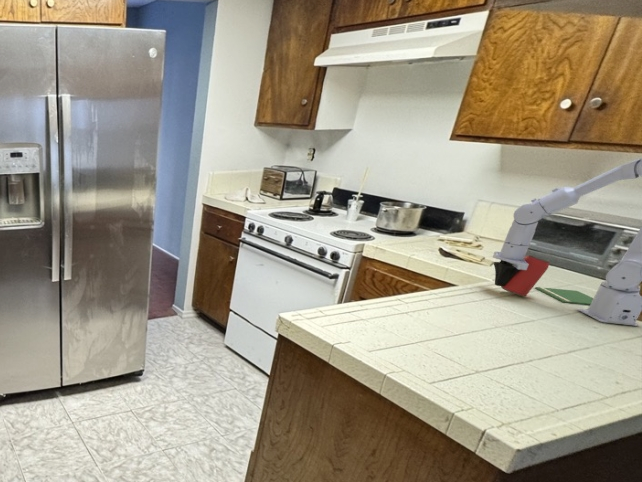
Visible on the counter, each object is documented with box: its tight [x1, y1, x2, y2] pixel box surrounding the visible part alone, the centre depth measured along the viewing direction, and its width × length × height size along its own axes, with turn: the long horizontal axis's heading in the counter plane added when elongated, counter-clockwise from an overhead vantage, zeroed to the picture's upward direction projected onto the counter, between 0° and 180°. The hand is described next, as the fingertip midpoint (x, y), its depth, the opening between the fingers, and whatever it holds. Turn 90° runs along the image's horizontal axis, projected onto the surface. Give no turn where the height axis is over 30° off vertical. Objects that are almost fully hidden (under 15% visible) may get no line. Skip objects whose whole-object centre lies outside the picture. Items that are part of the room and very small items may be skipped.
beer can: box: [500, 253, 551, 297], centre depth 145 cm, size 7×7×12 cm
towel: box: [535, 286, 594, 306], centre depth 147 cm, size 14×11×1 cm
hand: (499, 285), depth 148 cm, fingers closed, pressing on beer can
